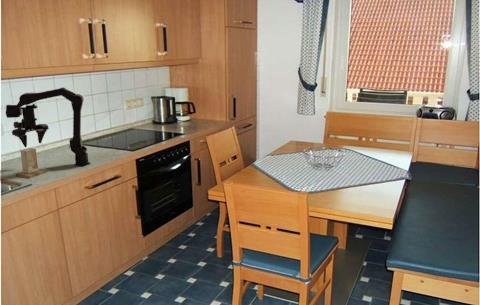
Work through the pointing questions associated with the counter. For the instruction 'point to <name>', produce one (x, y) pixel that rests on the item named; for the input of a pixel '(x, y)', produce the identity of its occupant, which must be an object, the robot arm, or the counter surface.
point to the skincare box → (29, 160)
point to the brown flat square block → (31, 173)
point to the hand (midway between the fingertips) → (32, 145)
